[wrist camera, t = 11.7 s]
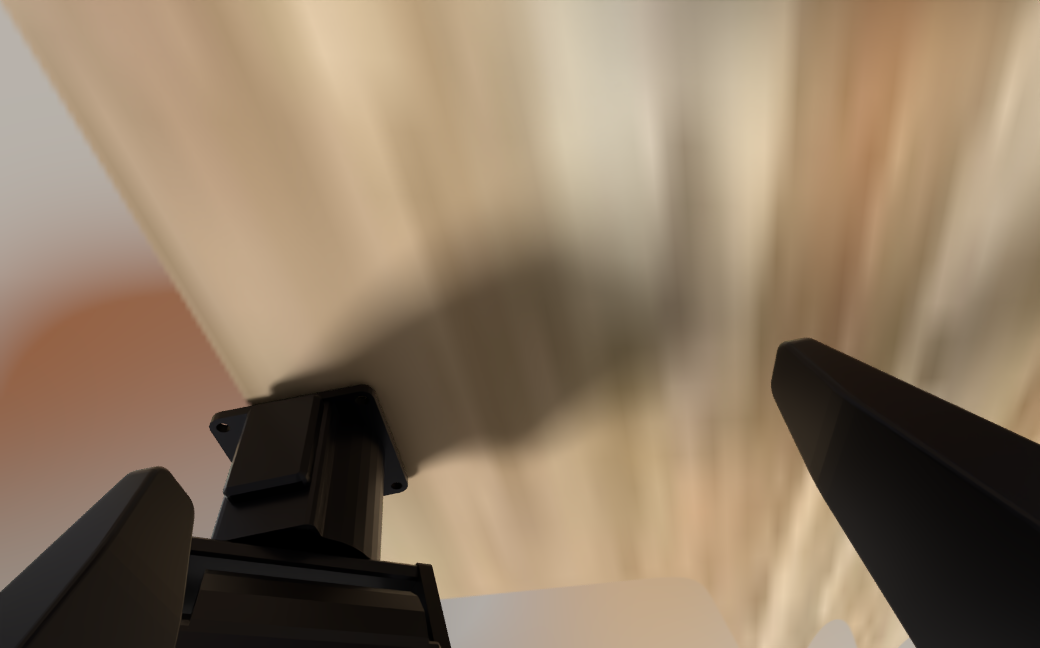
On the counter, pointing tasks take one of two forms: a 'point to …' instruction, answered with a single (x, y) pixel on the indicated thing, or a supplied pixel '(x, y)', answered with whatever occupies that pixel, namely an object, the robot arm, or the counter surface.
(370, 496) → the robot arm
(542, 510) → the counter surface
